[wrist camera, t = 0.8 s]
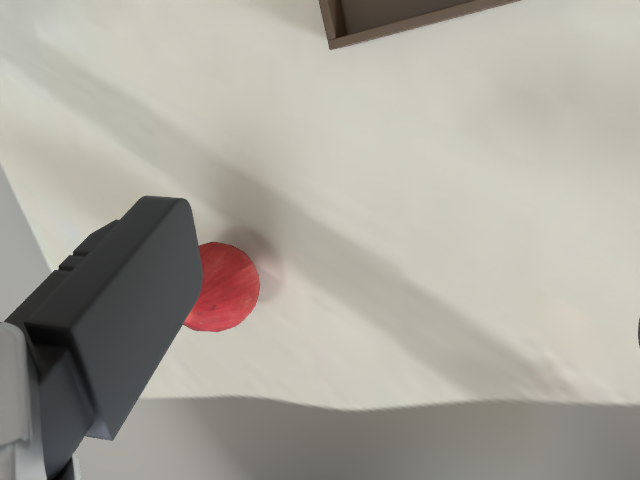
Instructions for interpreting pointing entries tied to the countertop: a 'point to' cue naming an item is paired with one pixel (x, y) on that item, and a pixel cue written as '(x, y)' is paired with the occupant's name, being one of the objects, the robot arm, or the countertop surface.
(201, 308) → the onion
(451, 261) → the countertop surface
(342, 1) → the tray
